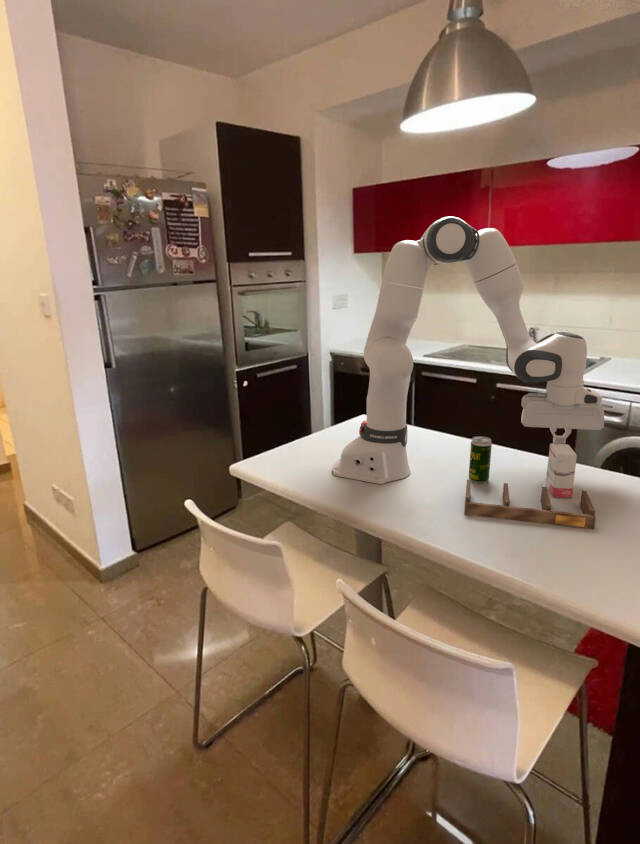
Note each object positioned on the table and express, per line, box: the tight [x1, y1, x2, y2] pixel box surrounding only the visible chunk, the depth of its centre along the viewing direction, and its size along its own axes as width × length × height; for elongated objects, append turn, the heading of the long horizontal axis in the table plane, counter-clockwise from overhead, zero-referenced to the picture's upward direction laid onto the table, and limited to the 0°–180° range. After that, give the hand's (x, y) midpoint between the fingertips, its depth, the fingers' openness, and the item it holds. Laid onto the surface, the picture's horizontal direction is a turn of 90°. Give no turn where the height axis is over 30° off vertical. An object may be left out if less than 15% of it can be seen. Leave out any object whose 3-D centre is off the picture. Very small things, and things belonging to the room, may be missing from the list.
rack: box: [463, 478, 596, 530], centre depth 123 cm, size 28×12×4 cm, turn 73°
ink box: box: [545, 442, 578, 499], centre depth 132 cm, size 9×5×12 cm, turn 168°
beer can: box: [468, 436, 493, 485], centre depth 139 cm, size 5×5×12 cm
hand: (559, 442), depth 140 cm, fingers closed
